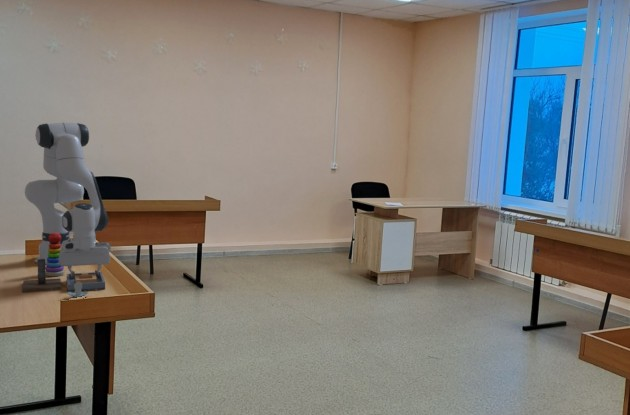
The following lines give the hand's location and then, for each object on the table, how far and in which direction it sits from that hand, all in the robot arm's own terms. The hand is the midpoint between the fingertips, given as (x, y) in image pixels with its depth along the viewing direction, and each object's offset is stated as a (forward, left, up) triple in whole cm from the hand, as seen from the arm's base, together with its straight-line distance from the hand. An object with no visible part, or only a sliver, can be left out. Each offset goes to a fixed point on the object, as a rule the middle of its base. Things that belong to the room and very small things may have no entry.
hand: (84, 275), depth 260 cm
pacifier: (+23, -4, -4) cm, 23 cm away
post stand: (+2, -16, -3) cm, 17 cm away
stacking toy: (-17, -11, -3) cm, 21 cm away
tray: (+4, 0, -3) cm, 5 cm away
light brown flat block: (+4, 0, -2) cm, 5 cm away
